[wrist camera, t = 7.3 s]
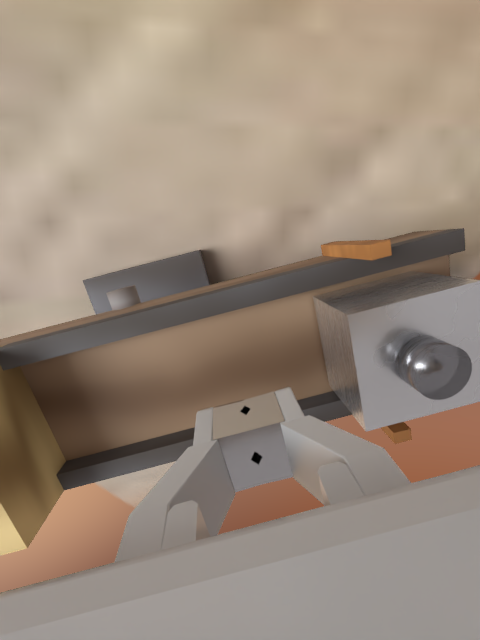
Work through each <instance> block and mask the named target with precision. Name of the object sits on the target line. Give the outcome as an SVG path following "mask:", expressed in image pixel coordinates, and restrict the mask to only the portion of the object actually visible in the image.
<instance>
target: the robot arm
mask: <svg viewBox="0 0 480 640" xmlns="http://www.w3.org/2000/svg"><path fill="white" fill-rule="evenodd" d="M290 477H294V479H295V480H296V481H297V482H299V483H300V484H301V485H302V486H303V487H304V488H305V489H307V490H308V491H309V492H310V493H311V494H312V495H313V496H315V497H316V498H317V499H318V500H319V501H320V502H322V503H323V504H324V505H325V506H324V507H321V508H317V509H313V510H310V511H305V512H302V513H298V514H295V515H290V516H287V517H283V518H279V519H276V520H272V521H268V522H264V523H261V524H257V525H253V526H250V527H246V528H242V529H238V530H234V531H231V532H227V533H223V534H220V535H217V534H218V532H219V530H220V528H221V525H222V523H223V521H224V519H225V516H226V514H227V512H228V510H229V507H230V505H231V503H232V500H233V498H234V496H235V492H238V491H241V490H245V489H248V488H251V487H255V486H258V485H261V484H265V483H269V482H274V481H278V480H282V479H286V478H290ZM0 640H480V465H478V466H475V467H471V468H468V469H464V470H460V471H456V472H453V473H449V474H445V475H442V476H438V477H434V478H430V479H426V480H422V481H419V482H415V483H411V482H410V481H409V480H408V479H407V477H406V476H405V475H404V473H403V472H402V471H401V470H400V468H399V467H398V466H397V464H396V463H395V462H394V461H393V460H392V458H391V457H390V456H389V454H388V453H387V452H386V450H385V449H384V448H382V447H380V446H378V445H375V444H373V443H371V442H369V441H366V440H364V439H362V438H360V437H357V436H355V435H353V434H351V433H348V432H346V431H344V430H342V429H339V428H337V427H335V426H333V425H330V424H328V423H326V422H324V421H321V420H319V419H317V418H315V417H312V416H310V415H308V416H304V414H303V412H302V410H301V408H300V406H299V404H298V402H297V400H296V398H295V396H294V393H293V391H292V389H291V388H290V387H286V388H283V389H280V390H276V391H273V392H270V393H266V394H263V395H259V396H256V397H252V398H249V399H246V400H240V401H236V402H232V403H228V404H223V405H219V406H215V407H211V408H207V409H203V410H200V411H198V412H197V414H196V423H195V432H194V441H193V446H190V447H188V448H187V449H186V450H185V451H184V453H183V454H182V455H181V456H180V457H179V458H178V460H177V461H176V462H175V463H174V464H173V465H172V466H171V468H170V469H169V470H168V471H167V472H166V473H165V475H164V476H163V477H162V478H161V479H160V480H159V481H158V483H157V484H156V485H155V486H154V487H153V488H152V489H151V491H150V492H149V493H148V494H147V495H146V496H145V498H144V499H143V500H142V501H141V502H140V503H139V504H138V506H137V507H136V508H135V509H134V510H133V512H132V513H131V514H130V515H129V517H128V521H127V524H126V527H125V530H124V534H123V537H122V540H121V543H120V547H119V550H118V553H117V556H116V559H115V562H114V563H111V564H107V565H103V566H99V567H96V568H92V569H88V570H84V571H81V572H77V573H73V574H69V575H65V576H62V577H58V578H54V579H51V580H47V581H43V582H39V583H36V584H32V585H28V586H24V587H21V588H16V589H13V590H9V591H5V592H1V593H0Z"/></svg>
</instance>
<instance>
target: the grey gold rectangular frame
mask: <svg viewBox="0 0 480 640" xmlns="http://www.w3.org/2000/svg"><path fill="white" fill-rule="evenodd" d="M321 249H322V254H323V256H319V257H316V258H312V259H308V260H304V261H300V262H296V263H293V264H289V265H285V266H281V267H277V268H273V269H269V270H266V271H262V272H258V273H254V274H250V275H246V276H242V277H239V278H235V279H231V280H227V281H223V282H219V283H216V284H212V285H210V283H209V279H208V276H207V272H206V269H205V265H204V261H203V258H202V254H201V251H200V250H198V251H194V252H191V253H187V254H183V255H179V256H175V257H171V258H167V259H163V260H160V261H156V262H152V263H148V264H144V265H140V266H136V267H133V268H129V269H125V270H121V271H117V272H113V273H109V274H106V275H102V276H98V277H94V278H90V279H86V280H83V283H84V285H85V288H86V290H87V293H88V295H89V298H90V300H91V303H92V306H93V308H94V311H95V313H96V315H92V316H88V317H85V318H81V319H77V320H73V321H69V322H65V323H62V324H58V325H54V326H50V327H46V328H42V329H38V330H35V331H31V332H27V333H23V334H19V335H15V336H11V337H8V338H4V339H0V555H4V554H8V553H12V552H16V551H19V550H23V549H27V548H28V546H29V545H30V543H31V542H32V540H33V539H34V537H35V535H36V534H37V532H38V531H39V529H40V527H41V526H42V524H43V523H44V521H45V520H46V518H47V516H48V515H49V513H50V512H51V510H52V508H53V507H54V505H55V504H56V502H57V501H58V499H59V497H60V496H61V494H62V493H63V491H64V490H67V489H71V488H75V487H78V486H82V485H86V484H90V483H94V482H98V481H101V480H105V479H109V478H113V477H117V476H120V475H124V474H128V473H132V472H136V471H139V470H143V469H147V468H151V467H155V466H158V465H162V464H166V463H170V462H174V461H177V460H178V458H179V457H180V456H181V455H182V454H183V453H184V451H185V450H186V449H187V448H188V447H190V446H193V441H194V432H195V423H196V414H197V412H198V411H200V410H203V409H207V408H211V407H215V406H219V405H223V404H228V403H232V402H236V401H240V400H246V399H249V398H252V397H256V396H259V395H263V394H266V393H270V392H273V391H276V390H280V389H283V388H286V387H290V388H291V389H292V391H293V393H294V396H295V398H296V400H297V402H298V404H299V406H300V408H301V410H302V412H303V414H304V416H308V415H310V416H312V417H315V418H317V419H319V420H321V421H324V422H325V421H329V420H333V419H336V418H341V417H344V416H348V415H352V413H351V412H350V411H349V410H348V408H347V407H346V406H345V405H344V403H343V402H342V401H341V400H340V398H339V397H338V396H337V394H336V393H335V392H334V391H333V389H332V388H331V387H330V386H329V381H328V375H327V370H326V364H325V359H324V354H323V348H322V343H321V338H320V332H319V327H318V321H317V316H316V311H315V305H314V300H313V296H317V295H321V294H324V293H328V292H332V291H336V290H340V289H344V288H347V287H351V286H355V285H359V284H363V283H367V282H370V281H374V280H378V279H382V278H386V277H390V276H394V275H397V274H401V273H405V272H409V271H414V272H422V273H429V274H437V275H444V276H450V267H449V254H453V253H457V252H461V251H465V238H464V228H463V229H449V230H435V231H420V232H412V233H408V234H404V235H400V236H397V237H393V238H389V239H385V240H365V241H337V242H331V243H327V244H323V245H321ZM381 429H382V430H383V431H384V432H385V433H386V434H387V435H388V436H389V438H390V439H391V440H392V441H393V442H394V443H395V444H397V443H401V442H404V441H408V440H412V437H411V429H410V428H409V427H408V426H407V425H406V424H405V423H404V422H400V423H396V424H393V425H389V426H385V427H381Z"/></svg>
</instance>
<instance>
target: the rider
mask: <svg viewBox="0 0 480 640" xmlns="http://www.w3.org/2000/svg"><path fill="white" fill-rule="evenodd" d="M313 300H314V305H315V311H316V316H317V321H318V327H319V332H320V338H321V343H322V348H323V354H324V359H325V364H326V370H327V375H328V381H329V386H330V387H331V388H332V389H333V391H334V392H335V393H336V394H337V396H338V397H339V398H340V400H341V401H342V402H343V403H344V405H345V406H346V407H347V408H348V410H349V411H350V412H351V413H352V415H353V416H354V417H355V418H356V420H357V421H358V422H359V424H360V425H361V426H362V427H363V428H364V430H365V431H370V430H374V429H377V428H381V427H385V426H389V425H393V424H396V423H400V422H404V421H408V420H412V419H415V418H419V417H423V416H427V415H430V414H434V413H438V412H442V411H446V410H449V409H453V408H457V407H461V406H465V405H468V404H472V403H476V402H480V280H475V279H467V278H460V277H452V276H444V275H437V274H429V273H422V272H414V271H409V272H405V273H401V274H397V275H394V276H390V277H386V278H382V279H378V280H374V281H370V282H367V283H363V284H359V285H355V286H351V287H347V288H344V289H340V290H336V291H332V292H328V293H324V294H321V295H317V296H313Z"/></svg>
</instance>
